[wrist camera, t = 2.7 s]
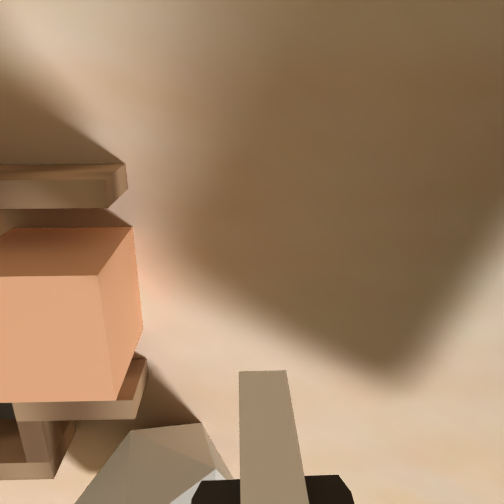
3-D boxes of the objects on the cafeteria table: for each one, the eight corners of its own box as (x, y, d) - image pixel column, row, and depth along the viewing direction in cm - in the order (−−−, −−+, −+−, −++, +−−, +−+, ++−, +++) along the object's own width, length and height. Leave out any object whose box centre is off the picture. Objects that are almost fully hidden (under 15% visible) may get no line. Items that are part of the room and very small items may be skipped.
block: (132, 226, 22) (97, 275, 17) (143, 327, 25) (115, 400, 19) (13, 227, 22) (-62, 277, 17) (35, 329, 25) (-25, 403, 19)
